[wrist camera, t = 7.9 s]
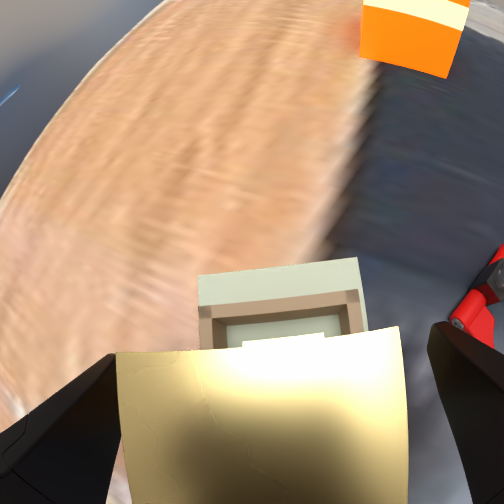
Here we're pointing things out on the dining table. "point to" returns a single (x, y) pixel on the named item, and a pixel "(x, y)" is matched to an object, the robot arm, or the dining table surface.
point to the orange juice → (413, 32)
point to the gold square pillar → (267, 422)
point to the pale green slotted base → (281, 303)
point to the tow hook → (482, 301)
